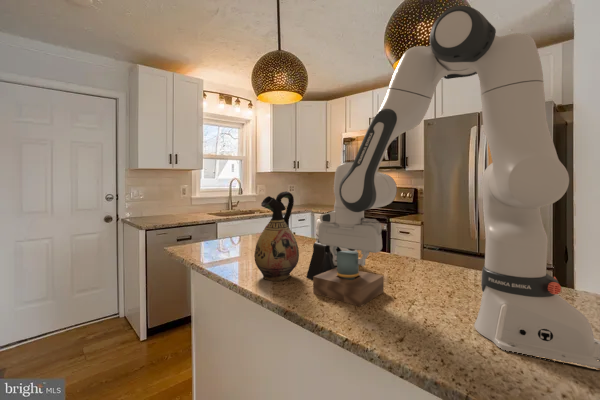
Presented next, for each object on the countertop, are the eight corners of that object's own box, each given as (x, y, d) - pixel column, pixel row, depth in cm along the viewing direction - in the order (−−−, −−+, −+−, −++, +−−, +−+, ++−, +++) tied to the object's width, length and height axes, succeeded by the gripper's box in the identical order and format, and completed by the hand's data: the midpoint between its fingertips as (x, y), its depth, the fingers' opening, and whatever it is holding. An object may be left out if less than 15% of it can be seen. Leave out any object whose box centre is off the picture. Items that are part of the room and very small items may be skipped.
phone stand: (317, 282, 105) (317, 246, 104) (306, 277, 110) (306, 243, 109) (337, 277, 110) (337, 243, 110) (325, 273, 115) (326, 240, 114)
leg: (363, 291, 96) (362, 252, 95) (352, 297, 91) (351, 256, 90) (344, 287, 100) (344, 249, 99) (333, 293, 95) (332, 253, 94)
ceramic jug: (269, 287, 100) (268, 192, 98) (247, 275, 112) (245, 191, 110) (311, 277, 110) (311, 191, 108) (286, 267, 122) (286, 190, 120)
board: (383, 292, 95) (383, 275, 95) (360, 306, 85) (360, 288, 84) (338, 281, 106) (338, 266, 105) (313, 292, 95) (313, 276, 95)
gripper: (386, 218, 89) (385, 266, 90) (327, 213, 103) (327, 255, 103) (376, 220, 85) (375, 271, 85) (315, 215, 98) (315, 259, 99)
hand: (348, 262), depth 95 cm, fingers open, 7 cm apart
